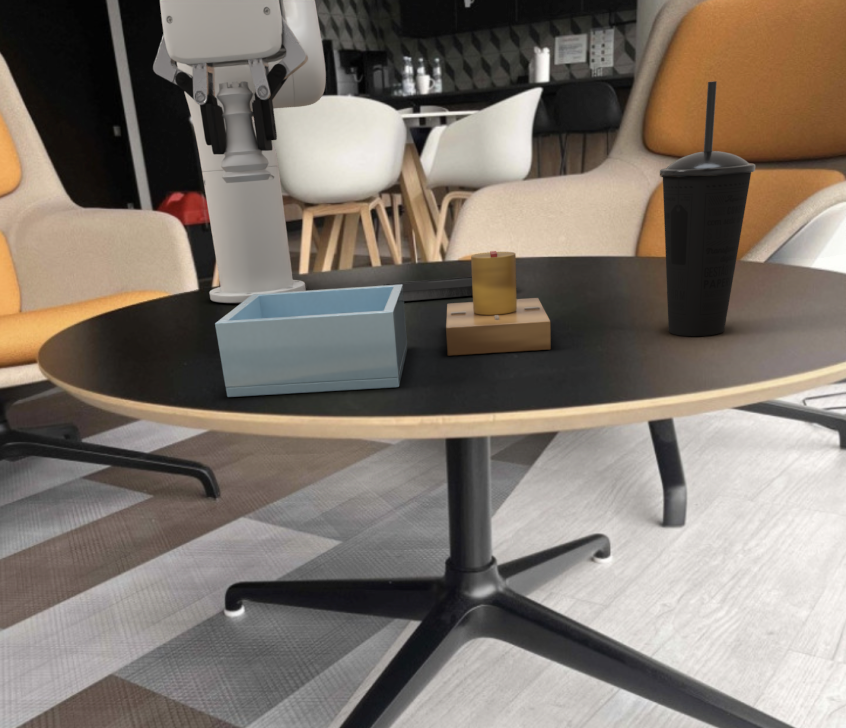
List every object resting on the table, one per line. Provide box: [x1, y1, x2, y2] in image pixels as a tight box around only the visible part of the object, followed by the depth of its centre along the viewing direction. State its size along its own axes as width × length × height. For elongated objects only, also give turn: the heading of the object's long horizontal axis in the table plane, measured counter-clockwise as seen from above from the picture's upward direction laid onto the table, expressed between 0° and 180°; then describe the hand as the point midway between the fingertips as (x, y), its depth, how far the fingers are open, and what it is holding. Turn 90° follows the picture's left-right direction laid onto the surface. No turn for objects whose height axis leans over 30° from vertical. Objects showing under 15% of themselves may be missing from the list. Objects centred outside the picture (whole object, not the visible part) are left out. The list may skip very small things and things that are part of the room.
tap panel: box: [445, 297, 552, 357], centre depth 81 cm, size 12×9×3 cm
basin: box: [214, 284, 408, 398], centre depth 73 cm, size 14×14×6 cm
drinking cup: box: [659, 80, 756, 337], centre depth 75 cm, size 8×8×20 cm
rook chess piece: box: [217, 81, 271, 183], centre depth 78 cm, size 4×4×8 cm
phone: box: [382, 276, 473, 302], centre depth 107 cm, size 8×1×15 cm
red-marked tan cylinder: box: [470, 250, 518, 315], centre depth 79 cm, size 4×4×5 cm
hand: (242, 150), depth 79 cm, fingers closed on rook chess piece, 3 cm apart
